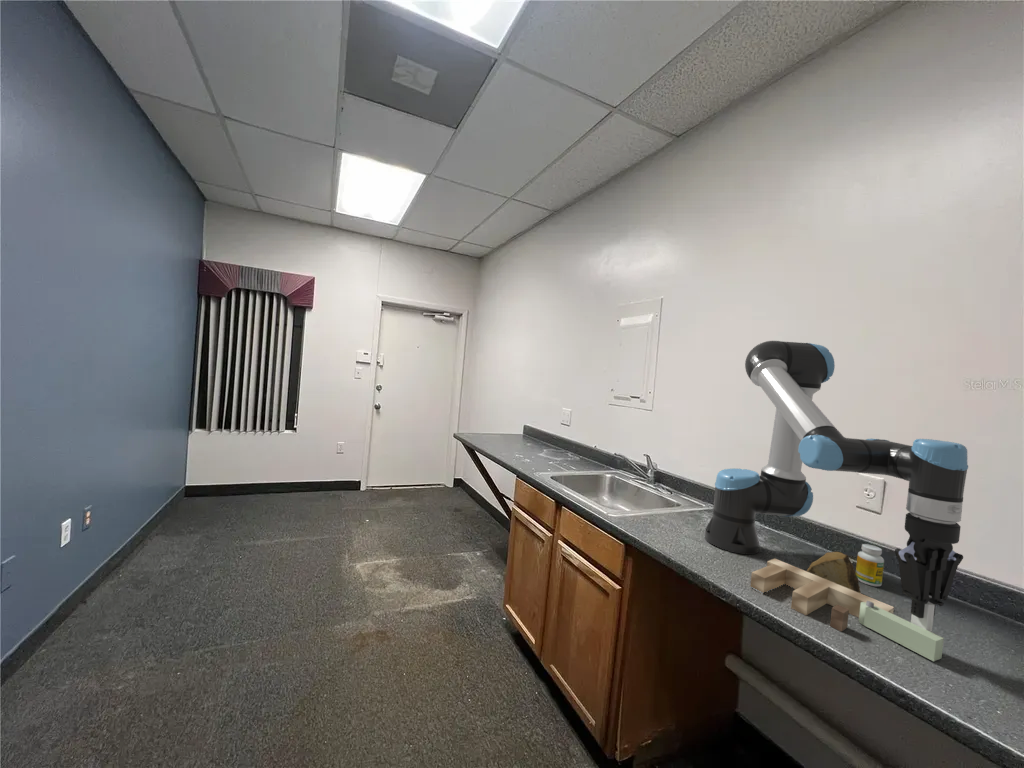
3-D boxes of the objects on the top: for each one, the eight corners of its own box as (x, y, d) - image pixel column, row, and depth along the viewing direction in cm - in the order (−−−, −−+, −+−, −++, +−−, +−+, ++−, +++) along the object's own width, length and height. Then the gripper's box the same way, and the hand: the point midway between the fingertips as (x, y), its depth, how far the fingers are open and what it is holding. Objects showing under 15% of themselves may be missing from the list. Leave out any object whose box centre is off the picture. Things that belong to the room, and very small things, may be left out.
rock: (792, 568, 105) (833, 583, 96) (805, 540, 108) (846, 552, 98) (816, 590, 107) (858, 607, 98) (828, 563, 110) (870, 577, 100)
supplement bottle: (858, 574, 110) (862, 541, 109) (884, 584, 105) (888, 549, 105) (851, 579, 107) (855, 544, 106) (878, 589, 102) (882, 553, 102)
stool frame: (743, 584, 99) (745, 569, 99) (773, 572, 107) (774, 558, 107) (867, 645, 78) (869, 625, 78) (891, 624, 86) (894, 607, 86)
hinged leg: (855, 620, 86) (858, 599, 86) (863, 618, 87) (865, 597, 87) (933, 661, 75) (936, 637, 75) (941, 658, 76) (944, 634, 76)
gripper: (925, 524, 74) (913, 645, 75) (984, 525, 76) (971, 644, 76) (884, 509, 82) (873, 620, 83) (938, 511, 83) (927, 619, 84)
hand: (920, 631), depth 80 cm, fingers closed
